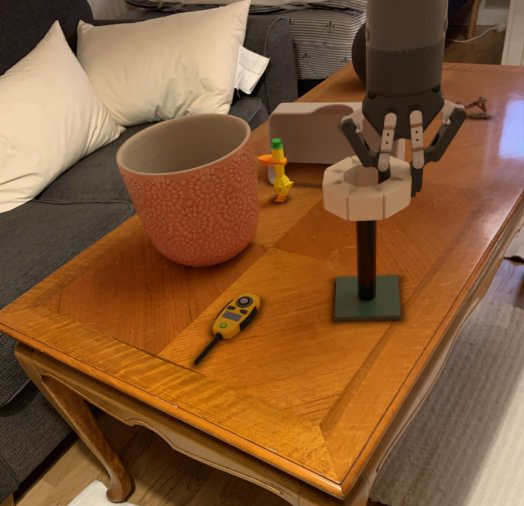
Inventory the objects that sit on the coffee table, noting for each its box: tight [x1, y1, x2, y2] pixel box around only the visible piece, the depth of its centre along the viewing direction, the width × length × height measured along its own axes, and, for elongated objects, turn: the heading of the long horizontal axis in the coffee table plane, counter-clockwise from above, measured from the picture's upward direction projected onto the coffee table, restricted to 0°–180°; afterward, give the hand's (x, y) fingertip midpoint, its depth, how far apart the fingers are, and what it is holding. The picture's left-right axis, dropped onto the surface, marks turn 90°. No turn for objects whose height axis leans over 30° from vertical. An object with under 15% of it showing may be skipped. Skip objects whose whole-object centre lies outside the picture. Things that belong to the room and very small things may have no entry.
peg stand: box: [333, 220, 402, 322], centre depth 70 cm, size 9×9×15 cm
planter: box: [115, 112, 260, 268], centre depth 85 cm, size 21×21×19 cm
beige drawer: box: [267, 101, 406, 184], centre depth 100 cm, size 25×16×12 cm, turn 68°
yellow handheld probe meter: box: [193, 292, 261, 365], centre depth 74 cm, size 5×2×15 cm
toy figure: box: [256, 138, 295, 203], centre depth 95 cm, size 7×4×12 cm, turn 64°
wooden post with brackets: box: [463, 95, 490, 119], centre depth 110 cm, size 2×8×4 cm, turn 50°
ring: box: [322, 156, 412, 222], centre depth 62 cm, size 11×11×3 cm
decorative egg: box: [350, 21, 366, 84], centre depth 127 cm, size 12×12×15 cm
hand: (398, 194), depth 63 cm, fingers closed on ring, 2 cm apart
